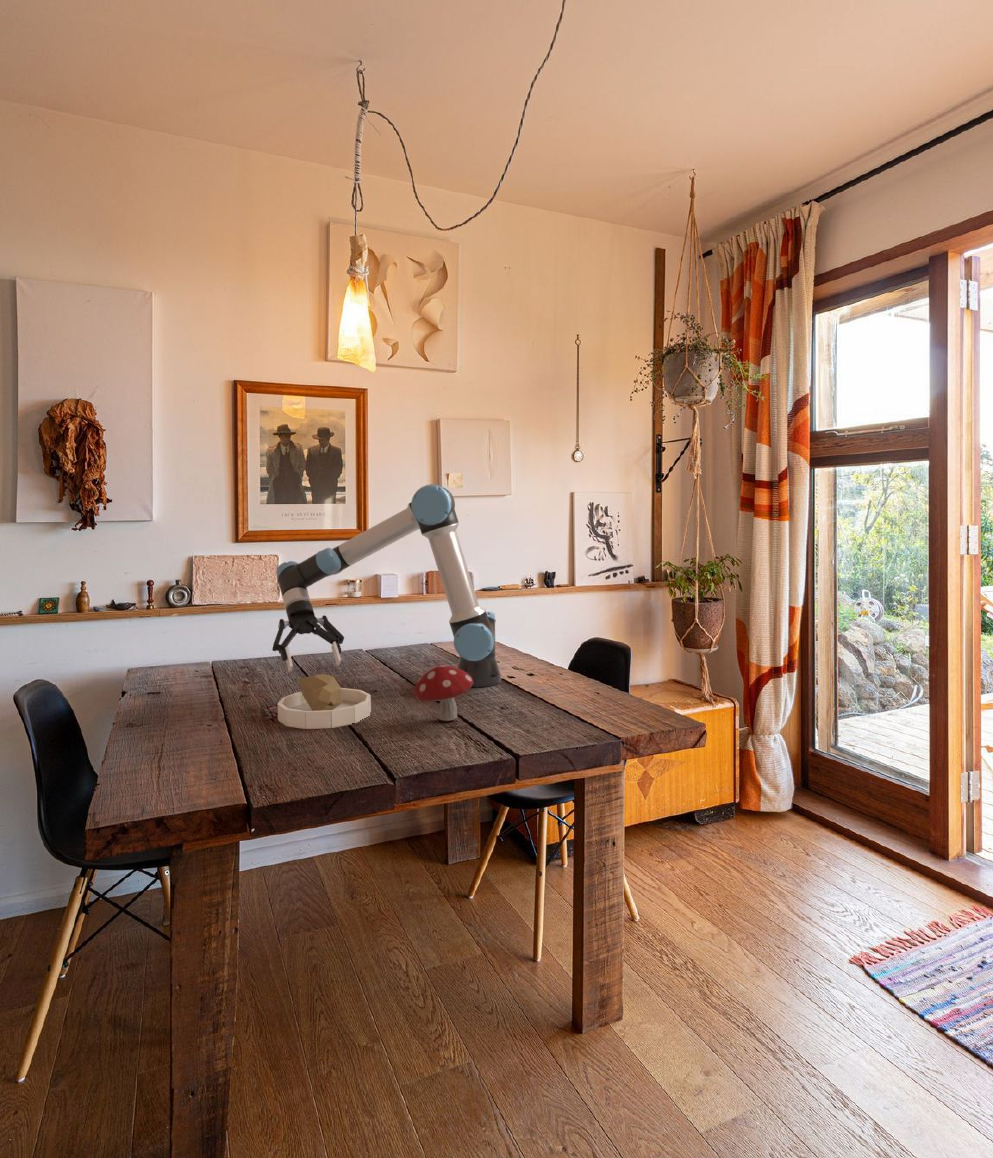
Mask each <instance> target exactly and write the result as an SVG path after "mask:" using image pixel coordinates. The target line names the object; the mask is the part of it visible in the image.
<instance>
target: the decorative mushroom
mask: <svg viewBox="0 0 993 1158" xmlns="http://www.w3.org/2000/svg"><path fill="white" fill-rule="evenodd" d="M473 683H474V681H473V679H472V677H471V676H470V675H469V674H468V673H467V672H465V671H463V670H461V669H459V668H457V666H451V665H437V666H435V667H432V668H431V669H430V670H428V671H426V672H425V673H424V674H422V675H421V676H420V678H419V679H418V680H417V681H416V683H415V685H414V687H413V694H414V696H415V698H416V699H419V700H420V701H427V702H436V701H439V705H438V708H437V709H438V711H437V715H438V716H437V719H438V720H440V721H443V722H449V721H454V720H456V719H457V718H458V707H457V706H458V705H457V703H456V700H455V697H458V696H461V695H464V694H465V693H466V692H468V691H469V690H470V689H471V688H472V687H471V686H472V685H473Z"/></svg>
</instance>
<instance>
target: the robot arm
mask: <svg viewBox="0 0 993 1158" xmlns="http://www.w3.org/2000/svg"><path fill="white" fill-rule="evenodd" d="M455 506H456V502H455V499H454V496H453V494H452V492H450V491H449V490H448V489H447V488H445V487H443V486H441V485H439V484H432V483H431V484H425V485H424V486H421V487H420V488H418V489H417V490H416V491H415V493H414V494H413V496H412V498H411V502H409V503H408V504H407V507H406V508H405V509H403V510H401V511H399V512H397V513H396V514H394V515H392V516H390V517H389V518H386V519H384V520H383V521H381V522H379V523H377V524H375V525H373V526H371V527H370V528H367V529H366V530H364V531H363V532H361V533H359V534H357V535H355V536H353V537H352V538H349V539H348V540H346V541H344V542H342V543H340V544H339V545H338V546H335V547H333V548H331V547H326V548H324V549H322V550H319V551H318V552H317V553H315V554H313V555H312V556H310V557H308V558H307V559H305V560H303V561H301V562H299V563H298V562H296V561H295V560H294V561H293V560H289V561H287V562H286V561H284V562H282V563H281V564H279V565H278V567H277V568H276V570H275V572H276V579H277V584H278V587H279V590H280V593H281V597H282V601H283V604H284V605H283V606H284V609H285V612H286V615H287V620H284V619H283V618H281V619H279V620H278V621H279V622H278V631H277V633H276V635H275V637H274V638H275V639H274V642H273V645H272V649H271V650H272V651H273V652H278V653H279V654H280V657H281V660H282V661H283V662H286V665H287V670H288V673H290V672H292V671H293V668H294V664H293V661H292V656H291V653H290V649H289V644H290V643H291V641H292V640H293V639H294V638H295V637H296V635H297V634H299V635H305V634H306V635H307V634H311V633H312V634H313V635H315V636H316V635H317V636H318V637H319V638H320V639H321V638H322V639H323V640H324V641H326V642H327V643H329V644H330V645H331V651H332V655H333V658H334V661H335V664H336V666H338V667H339V666H340V665H341V662H342V658H341V653H342V647H341V645H342V644H343V643H344V639H345V636H344V635H343V634H342V633H341V632H340V631H339V630H338V629H337V628H336V627H335V626H334V625H333V624H332V623H331V622H330V621H329V620H328V617H327V615H322V616H321V617H319V618H318V617H316V614H315V611H314V608H313V605H312V601H311V598H310V597H311V596H310V595H309V591H308V587H310V586H313V585H314V584H316V583H317V582H320V581H322V580H323V579H325V578H328V577H330V576H334V575H337V574H340V573H341V572H343V571H344V570H345V569H347V568H349V567H351V566H352V565H354V564H356V563H358V562H360V561H362V560H364V559H365V558H368V557H369V556H372V555H373V554H375V553H377V552H378V551H381V550H382V549H384V548H386V547H388V546H389V545H391V544H393V543H394V544H395V542H397V541H399V540H401V539H403V538H405V537H407V536H408V535H410V534H412V533H413V532H416V531H417V530H420V533H421V536H423V537H425V538H427V540H428V541H429V542H428V543H429V545H430V548H431V551H432V554H433V555H432V556H433V558H434V562H435V565H436V567H437V571H438V574H439V576H440V580H441V584H442V586H443V589H444V594H445V596H446V601H447V602H448V606H449V609H450V612H451V616H450V618H449V620H448V623H449V626H450V629H451V633H452V636H453V647H454V650H455V651H456V653H457V655H459V660H458V663H457V666H456V668H459V669H461V670H463V671H465V672H467V673H468V674H469V675H470V676H471V677H472V679H473V681H474V683H473V685H472V686H471V688H473V687H474V688H483V687H484V688H485V687H491V686H492V687H493V686H495V685H499V684H500V683H501V682H502V674H501V671H500V669H499V665H498V661H497V659H496V620H497V619H496V615H495V613H494V612H493V611H487V610H486V609H485V608H483V607H481V606H480V604H479V601H478V598H477V595H476V592H475V587H474V585H473V582H472V578H471V575H470V573H469V572H470V571H469V569H468V566H467V563H466V559H465V556H464V552H463V550H462V547H461V543H460V540H459V536H458V533H457V528H458V526H459V525H460V523H459V519H458V515H457V513H456V512H457V511H456V509H455V508H456V507H455ZM287 627H289V628H290V631H289V633H288V634H287V635H286V637H285V638H284V640H283V641H282V643H281V644H280V641H281V638H282V637H283V633H284V630H285V629H287ZM322 627H323V628H322Z"/></svg>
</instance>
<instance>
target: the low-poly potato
mask: <svg viewBox="0 0 993 1158" xmlns="http://www.w3.org/2000/svg"><path fill="white" fill-rule="evenodd" d="M298 682H299V687H300V690H301V691H300V692H302V695H303V697H304V698H305V700H306V701H307V703H308V705H309V706H310V708H311V709H312V711H322V710H333V709H335V708H336V707H337V706H339V705H340V704H342V690H341V688H342V687H341V686H340V684H339V683H338V681H337V680H336V678H335V677H334V676H333V675H329V674H324V673H321V674H315V675H311V676H305V677H301V678H298Z"/></svg>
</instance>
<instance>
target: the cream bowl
mask: <svg viewBox="0 0 993 1158" xmlns="http://www.w3.org/2000/svg"><path fill="white" fill-rule="evenodd" d="M340 688H341V690H342V704H340V705H339V706H337V707H336V708H335V709H333V710H322V711H312V709H311V708H310V706H309V705H308V703H307V701H306V700H305V698H304V697H303V695H302V691H297V692H294V693H292V694H289V695H287V696H283V697H281V699H280V700H279V701H278V703H277V704H276V705H277V721H279V722H280V723H281V724H282V725H284V726H285V727H290V728H297V729H302V730H303V729H305V730H314V729H316V730H317V729H334V728H339V727H343V726H351V725H353V724H352V723H355V724H357V723H360V722H361V721H363V720H365V719H364V718H366V717H368V716H369V717H370V715H371V712H372V701H371V700H372V695H371V694H370V693H367V692H366V691H363V690H362V689H356V688H344V687H340ZM369 717H368V718H369ZM362 719H363V720H362ZM366 719H367V718H366ZM360 720H361V721H360Z"/></svg>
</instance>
